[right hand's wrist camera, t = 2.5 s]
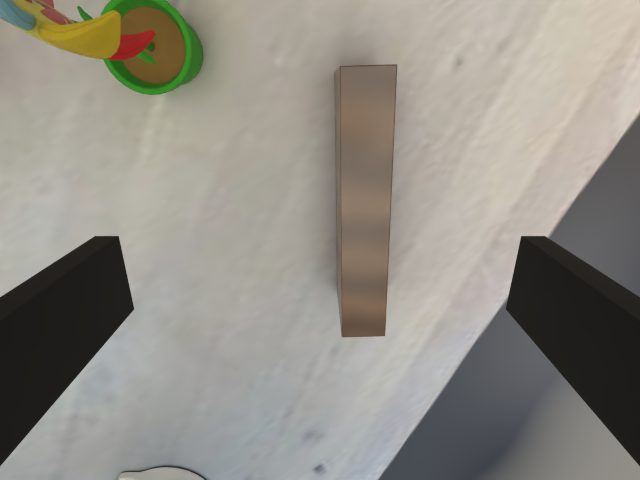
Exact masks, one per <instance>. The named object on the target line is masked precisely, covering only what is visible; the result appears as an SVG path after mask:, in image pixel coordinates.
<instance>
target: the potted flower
mask: <svg viewBox="0 0 640 480" xmlns="http://www.w3.org/2000/svg"><path fill="white" fill-rule="evenodd" d="M77 8H78V10H79V13H80V15H81V17H82V18H83V20H84V21H83V22H76V21H73V20H70V19H69V18H67V17H66V16H64V15H63V14H61V13H60V12H59V11H57V10H55V9H54V4H53V0H0V18H2V19H3V20H5V21H7V22H9V23H11V24H12V25H14V26H16V27H17V28H19V29H21V30H22V31H24V32H26V33H28V34H30V35H32V36H34V37H36V38H38V39H40V40H42V41H44V42H46V43H48V44H50V45H53V46H55V47H58V48H60V49H63V50H66V51H69V52H73V53H76V54H79V55H83V56H87V57H92V58H97V59H103V60H104V62H105V64H106V65H107V67H108V69H109V70H110V72H111V73H112V74H113V75H114V76H115V77H116V78H117V80H119V81H120V82H121V83H122V84H124V85H125V86H126V87H128V88H130V89H132V90H134V91H136V92H139V93H142V94H149V95H156V94H162V93H166V92H169V91H171V90H173V89H175V88H177V87H179V86H180V85H182V84H185V83H188V82H189V81H191V80H192V79H193V78H194V77H196V75H197V74H198V72H199V70H200V68H201V65H202V60H203V52H202V46H201V43H200V40H199V38H198V36H197V34H196V33H195V32H194V30H193V29H192V28H191V27H190V26H189V25H188V24H187V23H186V22H185V20H184V19H183V17H182V16H181V15H180V14H179V12H178V11H177V10H176V9H174V8H173V7H172V6H171V5H170V4H169V3H168V2H167V1H165V0H111V1H110V2H109V3H108V4H107V5H106V7H105V8H104V10H103V12H102V13H101V16H100V17H98V18H95V19H93V18H91V17H90V16H89V15H88V14H87V13H85V12H84V11H83V10H82V8H81V7H80V6H78V7H77Z"/></svg>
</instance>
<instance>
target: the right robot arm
mask: <svg viewBox="0 0 640 480" xmlns="http://www.w3.org/2000/svg"><path fill="white" fill-rule="evenodd" d="M133 310H134V306H133V302H132V297H131V292H130V288H129V283H128V278H127V273H126V269H125V264H124V259H123V255H122V250H121V245H120V241H119V236H95V237H93V238H92V239H90V240H88V241H87V242H85V243H84V244H82V245H81V246H79V247H78V248H76V249H75V250H73V251H71V252H70V253H68V254H67V255H65V256H64V257H62V258H61V259H59V260H57V261H56V262H54V263H53V264H51V265H50V266H48V267H47V268H45V269H44V270H42V271H40V272H39V273H37V274H36V275H34V276H33V277H31V278H30V279H28V280H26V281H25V282H23V283H22V284H20V285H19V286H17V287H16V288H14V289H12V290H11V291H9V292H8V293H6V294H5V295H3V296H2V297H0V466H1V465H2V463H3V462H4V461H5V460H6V459H7V457H8V456H9V455H10V454H11V453H12V452H13V450H14V449H15V448H16V447H17V446H18V445H19V443H20V442H21V441H22V440H23V439H24V438H25V436H26V435H27V434H28V433H29V432H30V431H31V429H32V428H33V427H34V426H35V425H36V424H37V422H38V421H39V420H40V419H41V418H42V416H43V415H44V414H45V413H46V412H47V411H48V409H49V408H50V407H51V406H52V405H53V404H54V402H55V401H56V400H57V399H58V398H59V397H60V395H61V394H62V393H63V392H64V391H65V390H66V388H67V387H68V386H69V385H70V384H71V382H72V381H73V380H74V379H75V378H76V377H77V375H78V374H79V373H80V372H81V371H82V370H83V368H84V367H85V366H86V365H87V364H88V363H89V361H90V360H91V359H92V358H93V357H94V356H95V354H96V353H97V352H98V351H99V350H100V348H101V347H102V346H103V345H104V344H105V343H106V341H107V340H108V339H109V338H110V337H111V336H112V334H113V333H114V332H115V331H116V330H117V329H118V327H119V326H120V325H121V324H122V323H123V322H124V320H125V319H126V318H127V317H128V316H129V315H130V313H131V312H132V311H133ZM506 310H507V311H508V312H509V313H510V315H511V316H512V317H513V318H514V319H515V320H516V322H517V323H518V324H519V325H520V326H521V327H522V329H523V330H524V331H525V332H526V333H527V334H528V336H529V337H530V338H531V339H532V340H533V341H534V343H535V344H536V345H537V346H538V347H539V348H540V350H541V351H542V352H543V353H544V354H545V356H546V357H547V358H548V359H549V360H550V361H551V363H552V364H553V365H554V366H555V367H556V368H557V369H558V371H559V372H560V373H561V374H562V375H563V377H564V378H565V379H566V380H567V381H568V382H569V384H570V385H571V386H572V387H573V388H574V389H575V391H576V392H577V393H578V394H579V395H580V397H581V398H582V399H583V400H584V401H585V402H586V404H587V405H588V406H589V407H590V408H591V409H592V410H593V412H594V413H595V414H596V415H597V416H598V418H599V419H600V420H601V421H602V422H603V424H604V425H605V426H606V427H607V428H608V429H609V431H610V432H611V433H612V434H613V435H614V436H615V437H616V439H617V440H618V441H619V442H620V443H621V445H622V446H623V447H624V448H625V449H626V450H627V452H628V453H629V454H630V455H631V456H632V457H633V459H634V460H635V461H636V462H637V463H638V465H639V466H640V297H638V296H637V295H635V294H634V293H632V292H631V291H629V290H627V289H626V288H624V287H623V286H621V285H620V284H618V283H617V282H615V281H614V280H612V279H610V278H609V277H607V276H606V275H604V274H603V273H601V272H600V271H598V270H596V269H595V268H593V267H592V266H590V265H589V264H587V263H586V262H584V261H583V260H581V259H579V258H578V257H576V256H575V255H573V254H572V253H570V252H569V251H567V250H565V249H564V248H562V247H561V246H559V245H558V244H556V243H555V242H553V241H552V240H550V239H548V238H547V237H545V236H521V241H520V245H519V250H518V255H517V259H516V264H515V269H514V273H513V278H512V283H511V288H510V292H509V297H508V302H507V306H506Z"/></svg>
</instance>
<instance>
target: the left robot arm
mask: <svg viewBox="0 0 640 480" xmlns="http://www.w3.org/2000/svg"><path fill="white" fill-rule="evenodd" d="M118 480H204V479H203V478H202V477H200V476H198V475H197V474H195V473H192V472H190V471H187V470H184V469H179V468H172V467H159V468H153V469H149V470H146V471H142V472H124V473H121V474H120V475H119V478H118Z"/></svg>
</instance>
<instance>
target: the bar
mask: <svg viewBox="0 0 640 480" xmlns="http://www.w3.org/2000/svg"><path fill="white" fill-rule="evenodd" d="M396 79H397V65H363V66H340V67H339V68H338V69H337V70H336V71H335V143H336V225H337V294H338V304H339V314H340V324H341V334H342V337H369V336H385V326H386V304H387V281H388V259H389V236H390V214H391V191H392V169H393V146H394V124H395V101H396Z"/></svg>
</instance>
